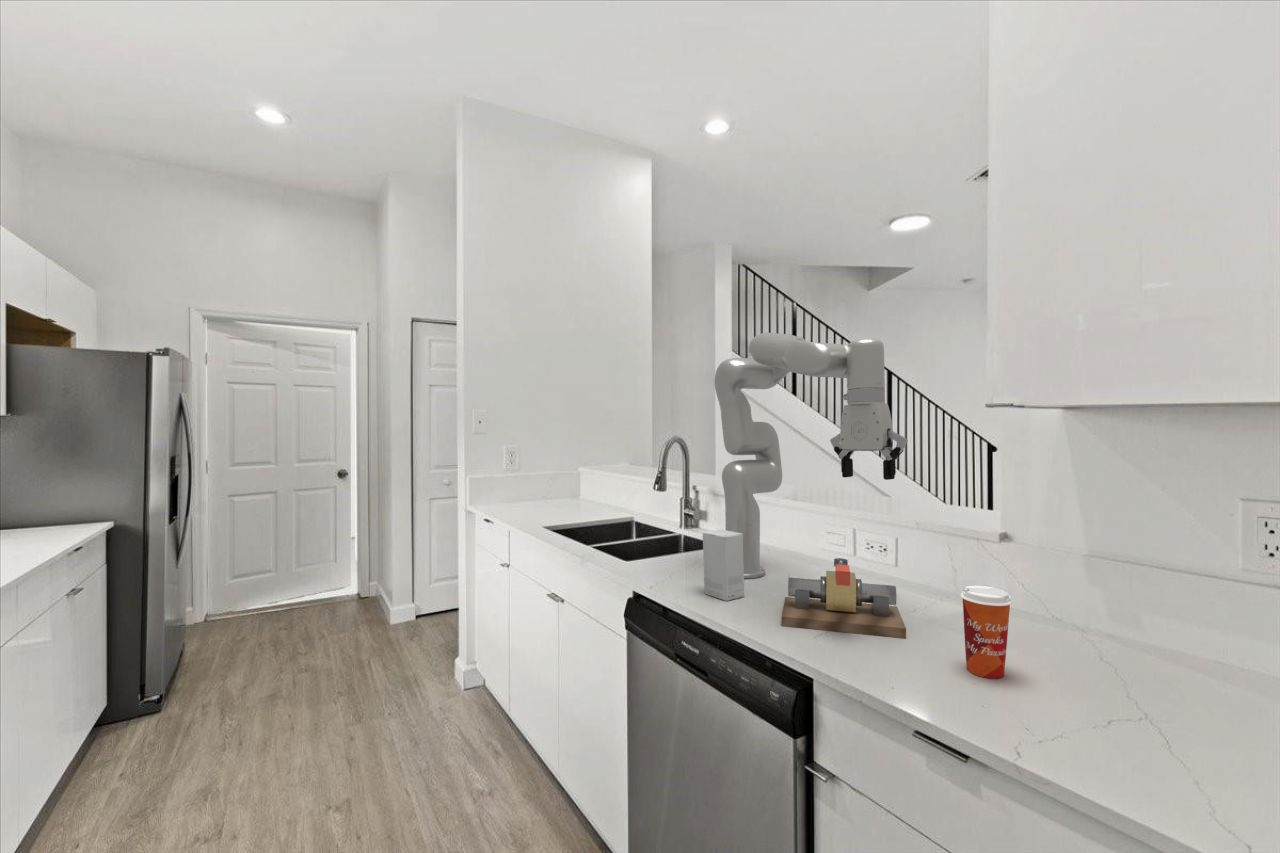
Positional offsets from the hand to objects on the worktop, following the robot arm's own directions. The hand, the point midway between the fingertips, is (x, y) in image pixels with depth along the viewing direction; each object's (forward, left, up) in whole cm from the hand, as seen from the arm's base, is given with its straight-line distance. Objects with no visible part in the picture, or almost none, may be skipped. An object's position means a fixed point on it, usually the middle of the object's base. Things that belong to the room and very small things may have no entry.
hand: (867, 478), depth 126 cm
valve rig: (-5, -1, -31) cm, 31 cm away
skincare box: (-32, +10, -31) cm, 46 cm away
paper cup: (+18, -20, -31) cm, 41 cm away
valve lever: (-5, -5, -20) cm, 21 cm away
